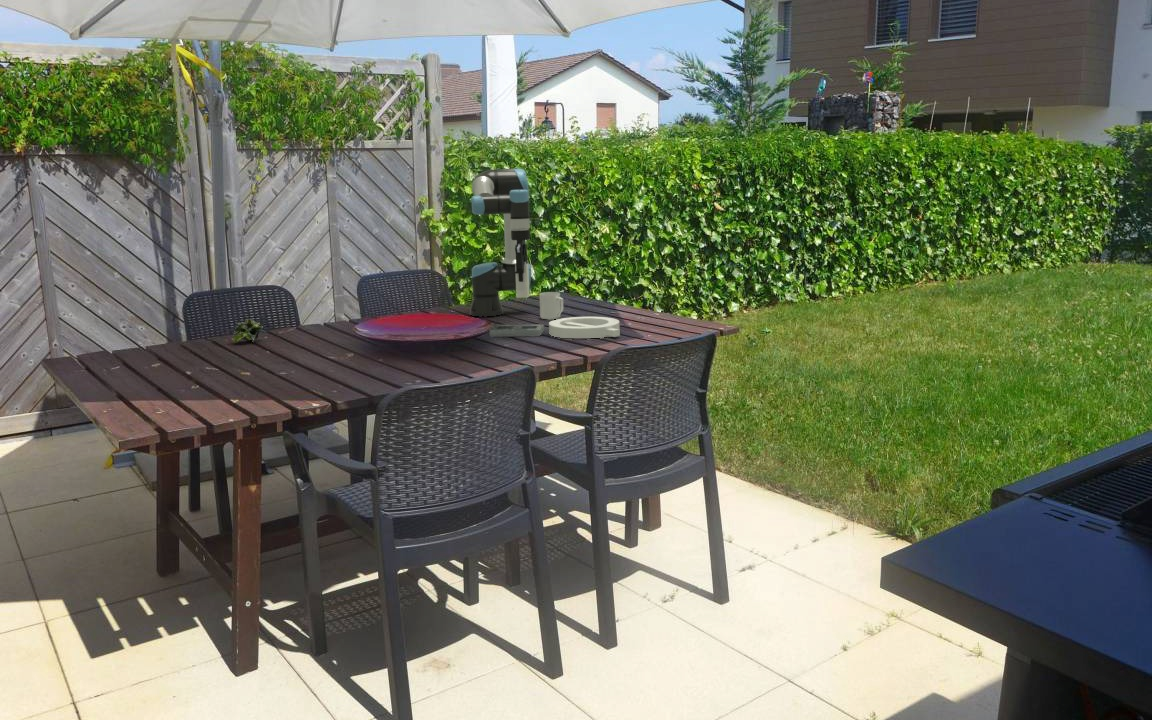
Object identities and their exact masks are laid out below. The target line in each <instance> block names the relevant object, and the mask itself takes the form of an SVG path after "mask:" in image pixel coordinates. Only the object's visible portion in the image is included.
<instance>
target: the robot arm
mask: <svg viewBox="0 0 1152 720" xmlns="http://www.w3.org/2000/svg"><path fill="white" fill-rule="evenodd" d="M529 187H530V186H529V182H528V177H527V172H526V171H525V170H524V169H523V168H500V169H499V168H498V169H497V168H496V169H492V168H491V169H487V170H484V171H482V172H481V173H479V174H477V175H476V176H475V177H474V178H473V180H472V181H471V191H472V193H473V196H471V212H472V214H473V215H476V216H477V215H480V216H482V215H503V228H504V229H503V230H504V231H503V233H504V235H503V236H504V259H502V261H501V265H499V264H498V262H495V261H493V262H491V261H490V262H485V263H481V264H476V265H474V266H473V267H472V268H471V280H472V281H471V282H472V283H471V284H472V286H471V288H472V301H471V304H470V308H469V316H470V315H472V316H479V317H478V318H488V317H487V316H494V317H497V316H496V315H500V316H502V315H501V314H503V315H504V309H503V306H502V302H501V300H500V297H499V296H500V295H499V292H508V291H509V292H510V291H515V292H516V274H515V273H517V274H518V290H525V273H524V262H526V264H528V266H529V287H530V286H531V281H532V280H531V279H532V264H530V263H529V259H528V244H526V241H528V240H530V239H531V230H529V229H530V228H531V224H532V220H530V188H529ZM515 265H516V272H515ZM472 316H471V317H472ZM482 316H484V317H482Z"/></svg>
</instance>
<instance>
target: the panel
mask: <svg viewBox="0 0 1152 720" xmlns="http://www.w3.org/2000/svg"><path fill="white" fill-rule="evenodd" d="M543 331H544V332H545V324H536V323H535V324H495V325H493V327H492V328H491V329H490V330H489V337H490V338H491V337H492V338H493V337H494V338H496V337H499V338H500V337H502V338H503V337H506V338H511V337H514V338H515V337H541V336H540V335H542V334H543V333H544V332H543ZM542 332H543V333H542Z"/></svg>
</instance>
